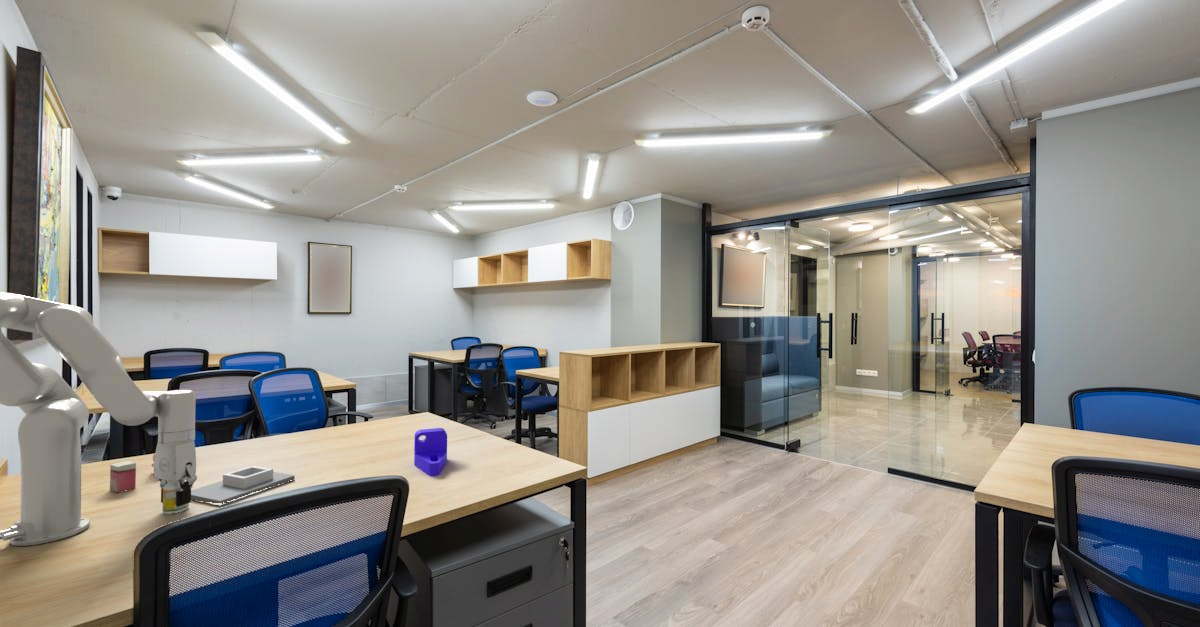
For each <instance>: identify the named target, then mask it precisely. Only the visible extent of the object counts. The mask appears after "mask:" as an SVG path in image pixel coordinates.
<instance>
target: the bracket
mask: <svg viewBox="0 0 1200 627" xmlns="http://www.w3.org/2000/svg"><path fill="white" fill-rule="evenodd" d="M421 436H425V437H424V438H423V439H420V437H421ZM413 443H414V445H413V446H414V449H413V451H414V452H413V456H414V457H413V462H414V467H416V468H417V469H419V470H420V471H421V472H423V473H424V474H426V475H427V476H429V477H437V476H439V475H440V474H441V473H442V471H443V470H444V468H445V466H446V465H447V461H448V434H447V432H446V430H445V429H444V428H443V427H435V428H425V429H423V428H422V429H418V430H417V431H416V432H415V433H414V442H413Z"/></svg>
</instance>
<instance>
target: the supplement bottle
mask: <svg viewBox="0 0 1200 627" xmlns="http://www.w3.org/2000/svg"><path fill="white" fill-rule="evenodd" d="M182 478H186V475H185V476H183V477H182ZM166 481H167V480H166ZM184 482H186V480H184V481H182V485H183V484H184ZM176 491H178V487H177V482H172V481H167V484H165V485H164V487H163V503H162V513H163V514H165V515H171V514H170V513H175V514H179V513H182V512H184V510H185V511H187V510H188V509H189V508H190V503H187V504H184V505H181V506H176ZM186 509H187V510H186ZM181 511H182V512H181ZM178 512H179V513H178Z"/></svg>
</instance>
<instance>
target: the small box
mask: <svg viewBox="0 0 1200 627" xmlns="http://www.w3.org/2000/svg"><path fill="white" fill-rule="evenodd" d="M109 470H110V471H109V472H110V473H109V478H110V479H109V490H110V491H111V490H112V492H114V491H115V493H116V492H119V493H122V492H121V491H123V492H126V491H125V490H128V491H130V489H131V490H134V488H135V489H136V487H137V486H136V482H137V481H136V480H137V477H136V476H137V463H136V462H134V461H131V460H125V461H121V462H117V463H112V464H110V468H109Z"/></svg>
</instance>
